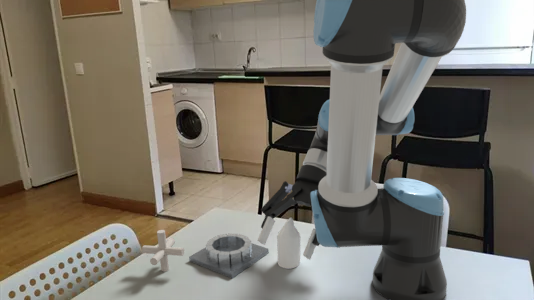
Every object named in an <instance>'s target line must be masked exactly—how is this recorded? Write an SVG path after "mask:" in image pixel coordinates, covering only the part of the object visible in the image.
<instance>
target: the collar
mask: <svg viewBox="0 0 534 300" xmlns="http://www.w3.org/2000/svg"><path fill="white" fill-rule="evenodd" d="M269 252H270V251H269V248H267V247H264V246H262V245H258V244H257V243H252V240H251V239H250V238H249V237H248V236H247V235H243V234H240V233H239V234H238V233H224V234H220V235H217V236H213V237H212V238H210V239H209V240H208V241H207V242H206V244H205V247H204V248H202V249H201V250H198V251H197V252H195V253H193V254H191V255H190V256H188V260H189V262H191V263H193V264H196V265H197V266H201V267H203V268H205V269H208V270H210V271H212V272H216V273H218V274H220V275H222V276H225V277H228V278H230V279H233V278H235V277H236V276H237V275H239V274H241V273H242V272H243V271H245V270H246V269H248V268H249V267H251V266H252V265H254V264H255V263H257V262H258V261H259V260H261V259H262V258H264V257H265V256H267V255H268V254H269ZM253 263H254V264H253Z"/></svg>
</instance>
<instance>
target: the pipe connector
mask: <svg viewBox="0 0 534 300" xmlns="http://www.w3.org/2000/svg"><path fill="white" fill-rule="evenodd" d="M156 236H157V244H158V246H157V245H146V244H145V245H143V246H142V247H141V253H142V254H152V255H153V256H152V257H151V258H150V261H149V262H150V264H151V265H152V266H156V265H158V264H159V262H160V270H161V272H168V271H169V270H170V264H169V257H168V256H179V257H183V256H184V255H185V248H184V247H175V246H173V245H175V244H176V240H175V239H174V238H173V237H169V238H168V239H167V236H166V230H165V229H160V230H159V229H158V230H157V232H156Z"/></svg>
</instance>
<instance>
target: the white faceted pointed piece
mask: <svg viewBox="0 0 534 300" xmlns="http://www.w3.org/2000/svg"><path fill="white" fill-rule="evenodd" d="M294 222H295V221H294V219H293V218H292V217H289V218H288V219H287V220H286V222H285V223H284V225H283V226H282V227H281V229H280V230H279V232H278V234H277V235H276V239H277V242H276V243H277V245H276V246H277V247H276V248H277V249H276V250H277V264H278V266H279V267H280V268H283V269H286V270H288V269H289V270H290V269H294V268H297V267H298V266H300V263H301V246H302V245H301V234H300V232H299V230H298V229H297V227H295V223H294Z"/></svg>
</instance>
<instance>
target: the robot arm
mask: <svg viewBox="0 0 534 300" xmlns="http://www.w3.org/2000/svg"><path fill="white" fill-rule="evenodd" d="M315 2H316V3H315V7H314V8H315V9H314V16H313V18H314V19H313V24H314V25H313V41H314V44H315V45H316V46H318V47H320V48H322V57H324V59H325V60H326V61H327V62H329V64H330V81H329V82H330V84H329V99H327V100H326V101H325V102H323V104H322V106H321V108H320V110H319V112H318V113H319V114H318V117H317V119H318V120H317V125H316V130H315V134H314V136H313V139H312V141H311V144H310V147H308V150H307V153H306V155H305V157H304V159H303V162H302V165H301V166H300V169H299V171H298V174H297V176H296V180H295V182H294V183H293V184H292V183H288V181H283V182H282V185H281V186H280V188H279V189H278V190H277V191H276V192H274V195H273V196H272V197H270V199H268V201H267V202H266V203H265V204H264V205H263V206H262V207H261V208H260V212H261V213H262V214H264V218H263V221H262V222H261V225H260V228H261V231H260V233H259V236H258V238H257V241H258V242H259V243H260V244H262V245H264V246H266V244H267V242H268V239H269V237H270V234H271V232H272V229H273V227H274V226H275V223H276V220H275V218H276V217H278V216H279V215H281V214H282V213H284V212H285V211H286V210H288V209H289V208H290V207H292V206H295V205H297V204H298V205H303V206H306V207H310V208H311V209H310V210H311V212H312V216H313V217H312V218H313V223H314V228H312V230H311V233H310V235H309V238H308V241H307V243H306V246H305V249H304V251H303V253H302V256H303V257H304V258H306V259H307V260H311V259H312V256H313V254H314V251H315V248H316V246H317V247H319V246H320V245H321V246H322V247H325V248H336V249H341V248H349V247H371V246H372V247H373V246H381V251H380V254H379V256H378V259H377V261H376V263H375V265H374V269H373V271H372V285H373V288H374V289H375V290H376V292H377V293H378V294H379V295H381V296H382V297H384V298H385V299H387V300H443V299H444V298H445V297H446V295H447V287H448V281H447V277H446V274H445V270H444V265H443V263H442V260H441V245H442V233H443V232H442V231H443V223H444V222H443V221H444V215H445V211H444V195H443V193H442V192H441V190H440V189H438V188H437V187H436V186H434V185H432V184H429V183H427V182H424V181H422V180H417V179H414V178H408V177H407V178H405V177H392V178H388V179H386V180H385V181H384V184H383V187H381V188H378V185H377V184H376V182H374V180H372V173H373V165H374V164H373V163H374V155H375V146H376V145H375V144H376V136H398V135H399V136H400V135H406V134H409V133H411V132H412V131H413V129H414V124H415V111H414V105H415V103H416V101H417V100H418V99H419V97H420V95H421V93H422V91H423V90H424V89H425V86H426V85H427V83H428V82H429V80H430V77H431V76H432V74H433V73H434V71H435V70H436V68H437V66H438V65H439V62H440V61H441V59H442V57H445V56H447V55H449V54H450V53H451V52H452V51H453V50H454V49H455V47H456V46H457V44H458V42H459V41H460V39H461V37H462V34H463V32H464V30H465V29H464V28H465V26H466V22H467V20H466V19H467V5H466V1H465V0H316V1H315ZM396 44H400V45H399V48H398V50H397V53H396V55H395V47H396ZM394 55H395V58H394ZM392 59H393V63H392V65H391V67H390V70H389V72H388V75H387V77H386V80H385V82H384V84H383V87H382V78H383V77H382V76H383V68H384V66H385V65H386V64H387V63H389V62H390V61H391V60H392ZM381 87H382V89H381Z"/></svg>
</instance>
